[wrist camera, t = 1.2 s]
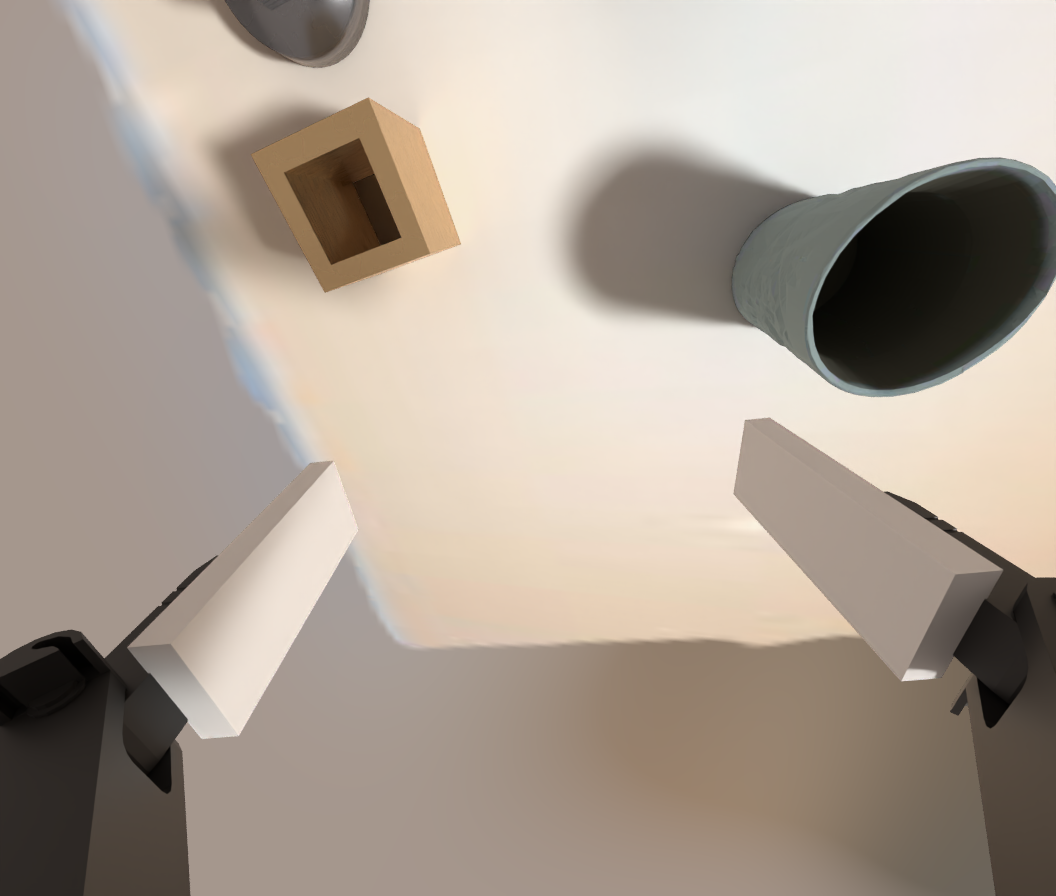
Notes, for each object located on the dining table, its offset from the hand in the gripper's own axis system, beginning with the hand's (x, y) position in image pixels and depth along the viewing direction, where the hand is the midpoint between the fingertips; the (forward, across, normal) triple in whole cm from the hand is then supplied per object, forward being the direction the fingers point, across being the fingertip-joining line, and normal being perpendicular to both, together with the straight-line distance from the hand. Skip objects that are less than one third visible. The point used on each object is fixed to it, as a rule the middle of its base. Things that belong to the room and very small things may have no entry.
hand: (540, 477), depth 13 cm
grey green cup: (+20, +20, +4) cm, 28 cm away
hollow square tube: (+22, -8, +10) cm, 25 cm away
